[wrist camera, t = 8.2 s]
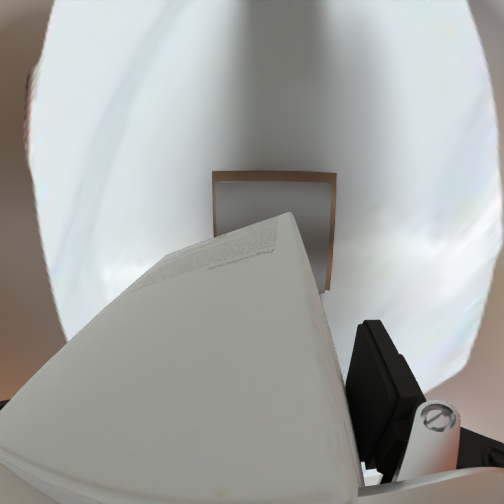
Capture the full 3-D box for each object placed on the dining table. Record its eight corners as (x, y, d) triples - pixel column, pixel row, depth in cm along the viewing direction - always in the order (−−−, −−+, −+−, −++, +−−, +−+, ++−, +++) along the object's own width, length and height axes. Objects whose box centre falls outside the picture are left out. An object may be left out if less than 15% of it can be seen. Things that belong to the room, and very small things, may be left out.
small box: (166, 252, 12) (-38, 429, 2) (294, 207, 11) (358, 511, 1) (234, 393, 14) (187, 582, 4) (342, 368, 13) (376, 580, 3)
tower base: (218, 171, 30) (204, 171, 25) (331, 172, 29) (342, 173, 23) (221, 276, 34) (209, 298, 28) (325, 279, 32) (333, 302, 27)
